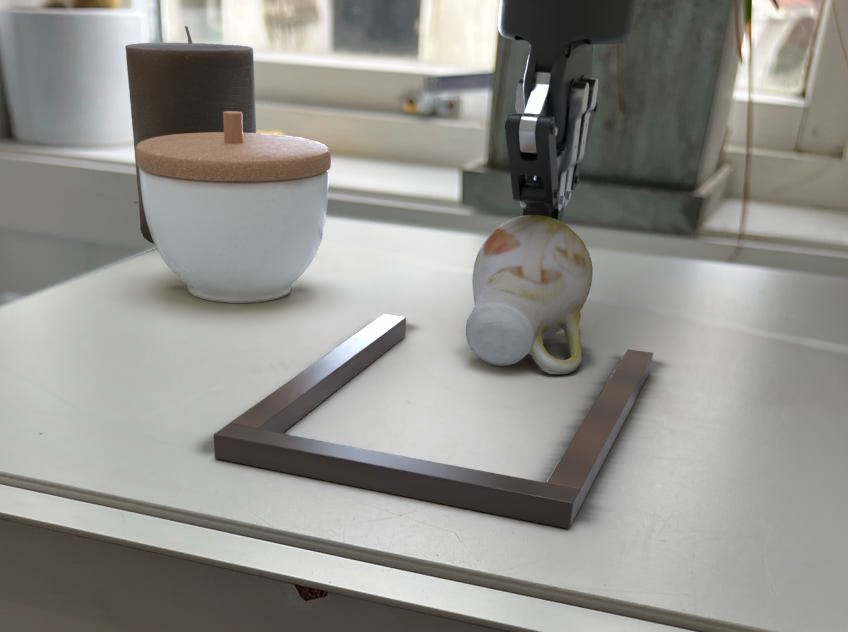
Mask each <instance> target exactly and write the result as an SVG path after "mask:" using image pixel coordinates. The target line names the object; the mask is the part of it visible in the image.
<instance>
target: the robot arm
mask: <svg viewBox="0 0 848 632" xmlns="http://www.w3.org/2000/svg"><path fill="white" fill-rule="evenodd" d="M637 7H638V0H499V10H498V22H497V28H498V31H499V34H500V35H501V36H502V37H504V38H506V39H509V40H513V41H525V42H528V43H529V54H528V56H527V62H526V67H525V72H524V77H520V78H519V79H518V81H517V84H516V91H515V103H514V104H515V105H514V109H515V112H509V113H508V115H507V117H506V120H505V122H504V130H505V141H506V148H507V157H508V166H509V174H510V175H509V176H510V183H511V194H512V200H513V201H514V202H519V206H520V207H521V208H522V209H523V210H522V216H524V215H541V216H547V217H551V218H554V219H556V220H558V221H560V222H562V223H563V220H564V212H565V211H564V210H565V207H567V206H568V205H569V201H571V198H572V191H575V190H576V189H577V186H578V185H579V182H580V173H581V170H582V167H583V162H584V158H585V155H586V151H587V148H588V143H589V140H590V136H591V132H592V128H593V124H594V120H595V116H596V113H597V112H598V110H599V103H598V91H599V79H598V78H592V75H593V57H594V47H593V46H594V45H616V44H617V45H618V44H621V43H625V42H627V41H628V40H629V39H630V38H631V36H632V35H633V33H634V28H635V20H636V12H637Z"/></svg>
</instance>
